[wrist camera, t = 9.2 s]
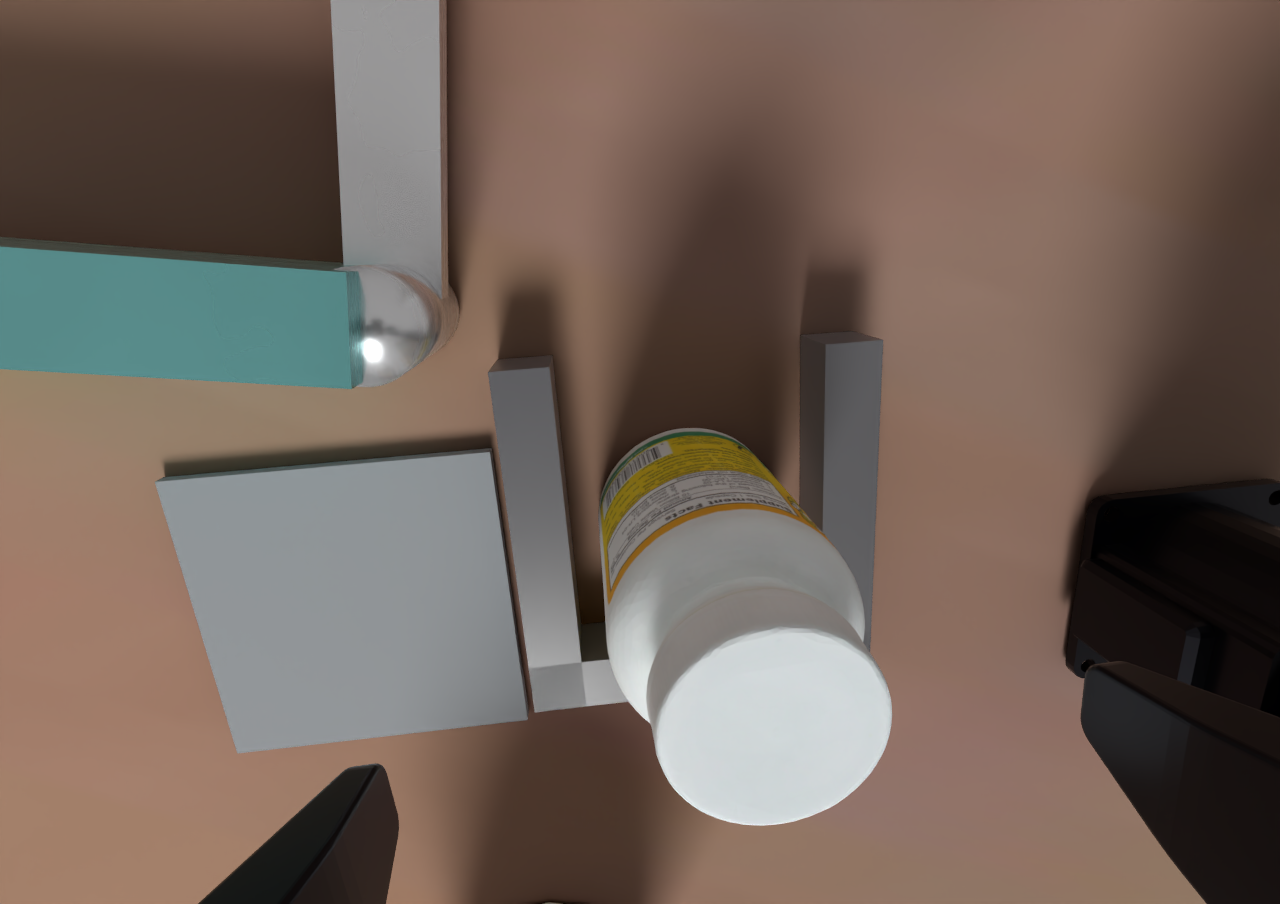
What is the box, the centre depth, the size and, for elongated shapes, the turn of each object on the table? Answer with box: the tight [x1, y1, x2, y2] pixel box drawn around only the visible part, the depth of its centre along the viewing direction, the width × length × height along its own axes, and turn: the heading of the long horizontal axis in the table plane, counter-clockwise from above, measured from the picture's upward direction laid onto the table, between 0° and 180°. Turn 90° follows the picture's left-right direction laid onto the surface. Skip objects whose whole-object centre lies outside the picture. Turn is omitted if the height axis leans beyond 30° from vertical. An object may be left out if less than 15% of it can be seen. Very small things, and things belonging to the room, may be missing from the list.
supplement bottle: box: [598, 428, 892, 826], centre depth 15 cm, size 5×5×10 cm
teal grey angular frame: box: [0, 0, 459, 389], centre depth 13 cm, size 12×13×5 cm
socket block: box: [488, 331, 883, 712], centre depth 19 cm, size 10×10×2 cm
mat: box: [155, 448, 529, 753], centre depth 20 cm, size 9×9×1 cm
